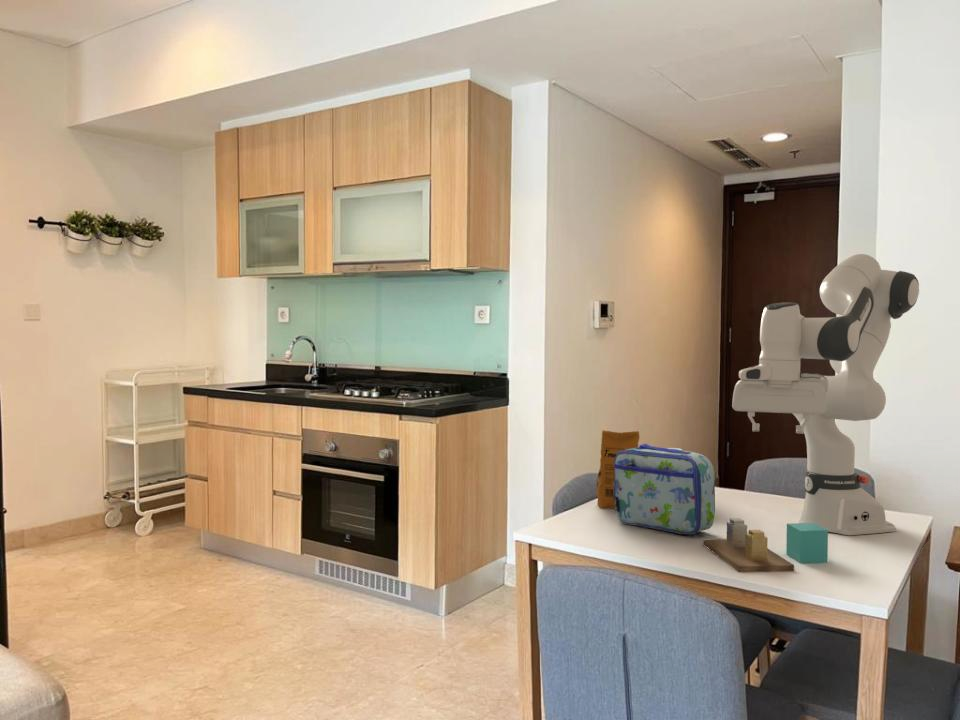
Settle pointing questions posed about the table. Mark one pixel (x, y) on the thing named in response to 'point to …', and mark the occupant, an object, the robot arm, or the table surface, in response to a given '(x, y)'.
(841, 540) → the table surface
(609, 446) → the coffee package
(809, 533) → the matte teal cube
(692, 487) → the lunch box
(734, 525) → the steel post
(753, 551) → the brass post
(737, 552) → the walnut board
